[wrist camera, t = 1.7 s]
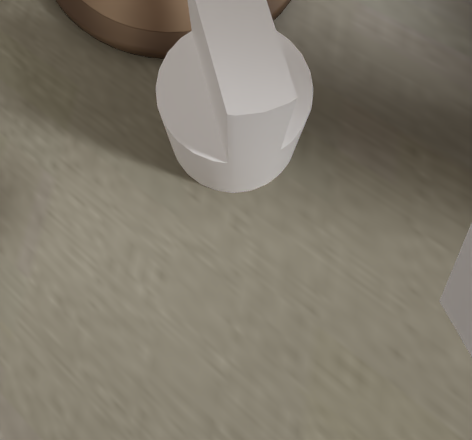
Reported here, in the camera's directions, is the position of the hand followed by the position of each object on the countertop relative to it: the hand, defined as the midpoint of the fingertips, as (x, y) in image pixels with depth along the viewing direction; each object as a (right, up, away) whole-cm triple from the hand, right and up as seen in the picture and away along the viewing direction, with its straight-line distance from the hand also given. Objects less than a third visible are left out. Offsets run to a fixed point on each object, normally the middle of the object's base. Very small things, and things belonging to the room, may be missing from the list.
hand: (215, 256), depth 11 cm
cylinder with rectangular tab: (0, +7, +19) cm, 20 cm away
